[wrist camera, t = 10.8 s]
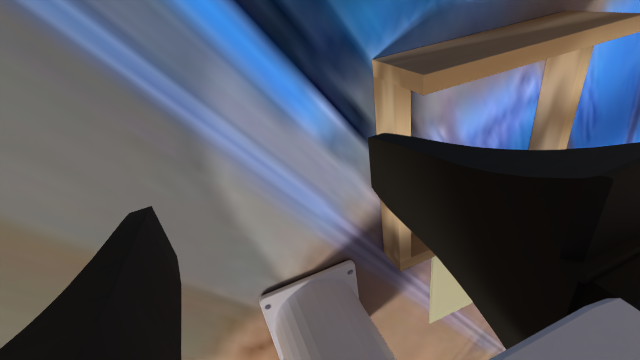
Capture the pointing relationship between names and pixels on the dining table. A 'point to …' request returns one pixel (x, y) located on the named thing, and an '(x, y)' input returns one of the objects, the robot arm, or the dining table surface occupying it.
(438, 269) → the potting mat
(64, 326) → the robot arm
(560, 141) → the cold frame
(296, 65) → the dining table surface
